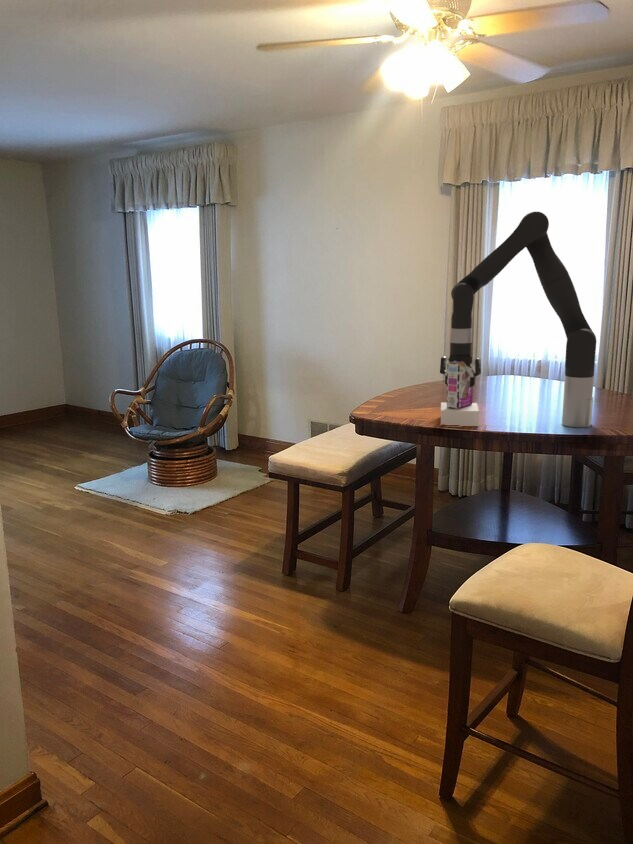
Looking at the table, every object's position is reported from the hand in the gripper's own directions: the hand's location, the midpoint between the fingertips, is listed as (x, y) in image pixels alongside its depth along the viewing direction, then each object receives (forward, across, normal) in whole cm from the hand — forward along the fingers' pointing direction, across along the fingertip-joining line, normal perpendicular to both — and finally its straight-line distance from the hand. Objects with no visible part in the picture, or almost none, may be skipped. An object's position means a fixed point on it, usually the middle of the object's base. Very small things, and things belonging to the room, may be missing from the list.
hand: (459, 386), depth 234 cm
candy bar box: (+8, 0, 0) cm, 8 cm away
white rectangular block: (+13, 0, 0) cm, 13 cm away
